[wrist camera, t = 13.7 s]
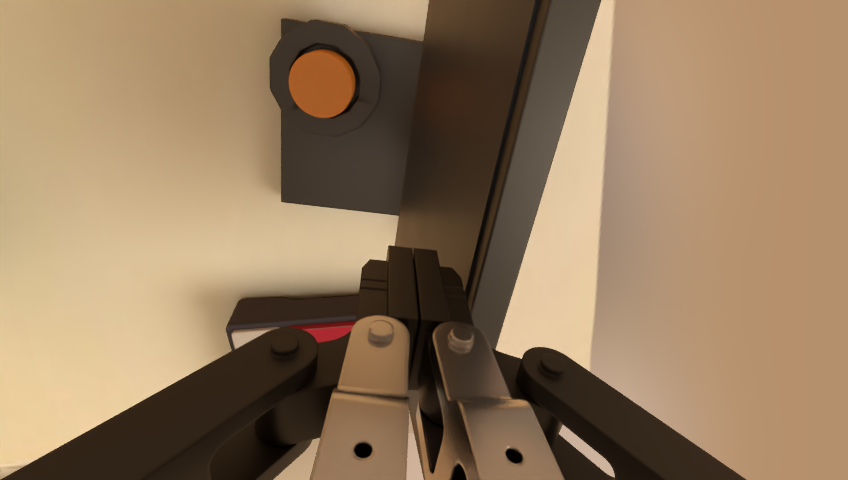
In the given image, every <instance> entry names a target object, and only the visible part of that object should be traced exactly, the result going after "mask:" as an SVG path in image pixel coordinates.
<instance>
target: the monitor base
mask: <svg viewBox="0 0 848 480" xmlns="http://www.w3.org/2000/svg"><path fill="white" fill-rule="evenodd" d="M422 48H423V42H421V41H415V40H409V39H404V38H398V37H392V36H386V35H380V34H374V33H368V32H363V31H357V30H352V29H351V28H350V27H348V26H347V25H345V24H339V23H333V22H327V21H322V20H310V21H308V22H304V21H298V20H292V19H285V18H282V19H281V39H280V41H279V43H278V44H277V46H276V48H275V49H274V51H273V53H272V55H271V56H270V89H271V92H272V93H273V95H274V97H275V99H276V101H277V103H278V105H279V107H280V108H281V202H286V203H294V204H303V205H312V206H320V207H329V208H338V209H346V210H355V211H364V212H372V213H381V214H390V215H398V216H399V212H400V205H401V198H402V191H403V184H404V177H405V169H406V162H407V155H408V148H409V141H410V134H411V127H412V119H413V112H414V105H415V98H416V91H417V84H418V77H419V69H420V62H421V55H422ZM319 49H326V50H331V51H334V52H336V53H338V54H340V55H341V56H342V57H344V58H345V59H346V60H347V62H348V63H349V64H350V66H351V68H352V70H353V72H354V75H355V81H356V87H355V92H354V95H353V97H352V99H351V101H350V103H349V104H348V106H347V107H346V109H345V110H344V111H343V112H341V113H340V114H338V115H336V116H334V117H330V118H318V117H314V116H311V115H309V114H307V113H306V112H304V111H303V110H302V109H301V108H300V107H299V106H298V105H297V104H296V102H295V101H294V99H293V97H292V95H291V93H290V89H289V74H290V70H291V68H292V66H293V64H294V63H295V61H296V60H297V59H298V58H299V57H301V56H302V55H304V54H306V53H309V52H312V51H314V50H319Z"/></svg>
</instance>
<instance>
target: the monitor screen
mask: <svg viewBox="0 0 848 480" xmlns="http://www.w3.org/2000/svg"><path fill="white" fill-rule="evenodd" d="M600 2H601V0H429V5H428V12H427V19H426V27H425V34H424V41H423V48H422V55H421V62H420V69H419V77H418V84H417V91H416V98H415V105H414V112H413V119H412V127H411V134H410V141H409V148H408V155H407V162H406V169H405V177H404V184H403V191H402V198H401V205H400V212H399V219H398V227H397V234H396V241H395V246H399V247H409V248H412V250H413V248H419V249H429V250H437V253H438V258H439V264H440V266H442V267H452V268H453V269H454V270H455V271H456V272H457V274H458V275H459V276H460V277H461V279H462V283H463V287H464V290H465V294H466V298H467V301H468V305H469V309H470V312H471V316H472V320H473V323H474V327H476V328H478V329H479V330H480V331H481V332H482V333H484V335H485V336H486V337H487V339H488V342H489V344H490V346H491V348H492V349H494V350H495V349H496V346H497V342H498V339H499V336H500V333H501V329H502V326H503V323H504V319H505V316H506V313H507V309H508V306H509V303H510V300H511V296H512V293H513V290H514V286H515V283H516V280H517V276H518V273H519V270H520V267H521V263H522V260H523V257H524V253H525V250H526V247H527V243H528V240H529V237H530V234H531V230H532V227H533V224H534V220H535V217H536V214H537V210H538V207H539V204H540V201H541V197H542V194H543V191H544V187H545V184H546V181H547V177H548V174H549V171H550V168H551V164H552V161H553V158H554V154H555V151H556V148H557V144H558V141H559V138H560V135H561V131H562V128H563V125H564V121H565V118H566V115H567V111H568V108H569V105H570V101H571V98H572V95H573V92H574V88H575V85H576V82H577V78H578V75H579V72H580V68H581V65H582V62H583V59H584V55H585V52H586V49H587V45H588V42H589V39H590V35H591V32H592V29H593V26H594V22H595V19H596V16H597V12H598V9H599V6H600ZM407 397H409V411H410V416H411V421H412V425H413V430H414V435H415V439H416V444H417V449H418V454H419V458H420V463H421V468H422V473H423V477H424V480H425V474H424V467H423V461H422V454H421V447H420V441H419V434H418V427H417V421H416V412H417V407H418V402H419V392H418V391H417V390H408V381H407Z"/></svg>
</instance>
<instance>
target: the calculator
mask: <svg viewBox="0 0 848 480" xmlns="http://www.w3.org/2000/svg"><path fill="white" fill-rule="evenodd" d="M358 299H359V295H355V296H342V297H328V298H314V299H301V300H290V299H287V298H284V297H273V298H259V299H245V300H240V301H239V302H238V303H237V305H236V307H235V309H234V312H233V314H232V316H231V318H230V320H229V322H228V324H227V327H226V332H227V336H228V339H229V343H230V346H231V349H232V351H233V350H235V349H237V348H239V347H240V346H242V345H244V344H246V343H248V342H249V341H251V340H253V339H255V338H257V337H258V336H260V335H262V334H264V333H266V332H268V331H270V330H273V329H277V328H284V327H292V328H298V329H302V330H305V331H307V332H309V333H310V334H311V335H313V336H314V338H315V339H316V341H317V343H319V342H325V341H331V340H335V339H338V338H340V337H342V336H344V335H346V334H347V333H348V332H350V331H351V330H352V327H353V326H354V324H355V322H356V315H357V307H358Z"/></svg>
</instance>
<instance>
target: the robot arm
mask: <svg viewBox="0 0 848 480" xmlns="http://www.w3.org/2000/svg"><path fill="white" fill-rule="evenodd" d="M407 381H408V390H417V391H418V392H419V402H418V407H417V412H416V421H417V427H418V434H419V441H420V447H421V454H422V461H423V467H424V474H425V480H746V479H745V478H743V477H742V476H740V475H739V474H737V473H736V472H734V471H733V470H732V469H730V468H729V467H727V466H726V465H724V464H723V463H721V462H720V461H718V460H717V459H715V458H714V457H712V456H711V455H710V454H708V453H707V452H705V451H704V450H702V449H701V448H700V447H698V446H696V445H695V444H694V443H692V442H691V441H689V440H688V439H686V438H685V437H684V436H682V435H681V434H679V433H678V432H676V431H675V430H673V429H672V428H670V427H669V426H667V425H666V424H665V423H663V422H662V421H660V420H659V419H657V418H656V417H655V416H653V415H652V414H650V413H649V412H647V411H646V410H644V409H643V408H641V407H640V406H638V405H637V404H635V403H634V402H633V401H631V400H630V399H628V398H627V397H625V396H624V395H623V394H621V393H620V392H618V391H617V390H615V389H614V388H612V387H611V386H609V385H608V384H607V383H605V382H604V381H602V380H601V379H599V378H598V377H596V376H595V375H593V374H592V373H591V372H589V371H588V370H586V369H585V368H583V367H582V366H580V365H579V364H577V363H576V362H575V361H573V360H572V359H570V358H569V357H567V356H566V355H564V354H562V353H560V352H558V351H556V350H553V349H550V348H545V347H535V348H531V349H529V350H527V351H526V352H525V353H524V355H523V358H522V359H520V358H517V357H513V356H510V355H507V354H504V353H501V352H498V351H496V350H494V349H492V348H491V346H490V344H489V342H488V339H487V337H486V336H485V335H484V333H482V332H481V331H480V330H479V329H478V328H476V327H474V323H473V320H472V316H471V312H470V309H469V305H468V301H467V298H466V294H465V290H464V287H463V283H462V279H461V277H460V276H459V275H458V274H457V272H456V271H455V270H454V269H453V268H452V267H442V266H440V264H439V258H438V253H437V250H429V249H419V248H413V250H412V248H409V247H399V246H388V252H387V259H386V261H381V260H371V259H370V260H369V261H368V262H367V263H366V264H365V265H364V266H363V267H362V273H361V282H360V290H359V299H358V307H357V315H356V322H355V324H354V326H353V327H352V330H351V331H350V332H348V333H347V334H346V335H344V336H342V337H340V338H338V339H335V340H331V341H325V342H319V343H317V341H316V339H315V338H314V336H313V335H311V334H310V333H309V332H307V331H305V330H302V329H298V328H292V327H284V328H277V329H273V330H270V331H268V332H266V333H264V334H262V335H260V336H258V337H257V338H255V339H253V340H251V341H249V342H248V343H246V344H244V345H242V346H240V347H239V348H237V349H235V350H233V351H231V352H230V353H228V354H226V355H224V356H222V357H221V358H219V359H217V360H215V361H213V362H212V363H210V364H208V365H206V366H204V367H203V368H201V369H199V370H197V371H195V372H194V373H192V374H190V375H188V376H186V377H185V378H183V379H181V380H179V381H177V382H176V383H174V384H172V385H170V386H168V387H167V388H165V389H163V390H161V391H159V392H158V393H156V394H154V395H152V396H150V397H149V398H147V399H145V400H143V401H141V402H140V403H138V404H136V405H134V406H132V407H131V408H129V409H127V410H125V411H123V412H122V413H120V414H118V415H116V416H114V417H113V418H111V419H109V420H107V421H105V422H104V423H102V424H100V425H98V426H96V427H95V428H93V429H91V430H89V431H87V432H86V433H84V434H82V435H80V436H78V437H77V438H75V439H73V440H71V441H69V442H68V443H66V444H64V445H62V446H60V447H59V448H57V449H55V450H53V451H51V452H50V453H48V454H46V455H44V456H42V457H41V458H39V459H37V460H35V461H33V462H32V463H30V464H28V465H26V466H24V467H23V468H21V469H19V470H17V471H15V472H14V473H12V474H10V475H8V476H6V477H5V478H3V479H1V480H273V479H274V478H275V477H276V476H277V475H279V474H280V473H281V472H282V471H283V470H284V469H285V468H286V467H287V466H289V465H290V464H291V463H292V462H293V461H294V460H295V459H296V458H298V457H299V456H300V455H301V454H302V453H303V452H304V451H305V450H306V449H307V448H308V447H309V445H310V444H311V442H312V439H316V438H320V437H321V438H320V441H319V445H318V449H317V453H316V457H315V461H314V465H313V468H312V472H311V476H310V480H406V469H407V448H408V425H409V397H407ZM562 425H565V426H566V427H567V428H568V429H570V430H571V431H572V432H573V433H574V434H576V435H577V436H578V437H579V438H581V439H582V440H583V441H584V442H586V443H587V444H588V445H589V446H590V447H592V448H593V449H594V450H595V451H597V452H598V453H599V454H600V455H602V456H603V457H604V458H605V459H606V460H607V461H608V462H609V463H610V465H611V466H612V468H613V470H614V473H615V478H614V477H611V476H609V475H607V474H606V473H605V472H603V471H602V470H601V469H600V468H598V467H597V466H596V465H595V464H594V463H592V462H591V461H590V460H589V459H588V458H587V457H585V456H584V455H583V454H582V453H581V452H579V451H578V450H577V449H576V448H574V447H573V446H572V445H571V444H570V443H569V442H567V441H566V440H565V439H564V438H563V437H561V436H560V435H559V432H560V429H561V427H562Z"/></svg>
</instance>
